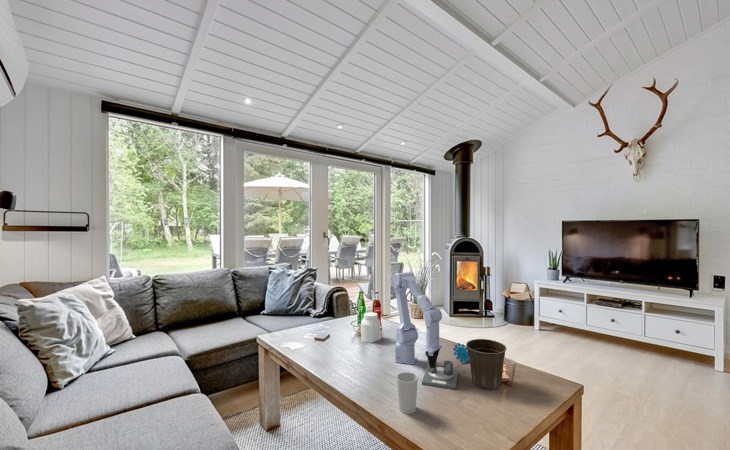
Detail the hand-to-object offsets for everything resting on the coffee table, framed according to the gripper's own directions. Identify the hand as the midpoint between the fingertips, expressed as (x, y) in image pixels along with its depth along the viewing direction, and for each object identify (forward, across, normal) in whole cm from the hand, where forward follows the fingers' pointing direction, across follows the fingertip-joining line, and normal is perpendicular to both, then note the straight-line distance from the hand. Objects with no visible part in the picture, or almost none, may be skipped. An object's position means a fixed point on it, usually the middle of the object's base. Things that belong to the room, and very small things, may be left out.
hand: (433, 365), depth 150 cm
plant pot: (+5, 0, -22) cm, 23 cm away
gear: (+5, +21, -12) cm, 25 cm away
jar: (+5, +36, +42) cm, 55 cm away
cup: (+5, -30, +6) cm, 30 cm away
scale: (+5, -2, -4) cm, 6 cm away
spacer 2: (+3, 0, -7) cm, 7 cm away
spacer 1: (+2, 0, 0) cm, 2 cm away
